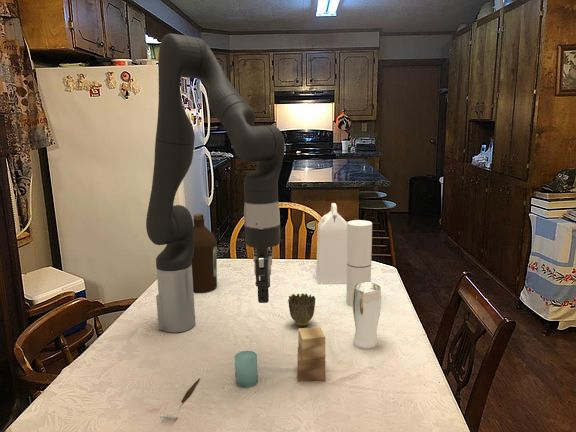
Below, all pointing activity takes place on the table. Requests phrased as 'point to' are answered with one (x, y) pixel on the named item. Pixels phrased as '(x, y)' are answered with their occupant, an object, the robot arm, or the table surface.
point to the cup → (301, 308)
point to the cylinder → (246, 369)
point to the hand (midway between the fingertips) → (264, 294)
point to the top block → (311, 343)
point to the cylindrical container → (358, 255)
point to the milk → (332, 248)
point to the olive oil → (204, 257)
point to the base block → (310, 369)
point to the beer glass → (366, 314)
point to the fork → (183, 400)
